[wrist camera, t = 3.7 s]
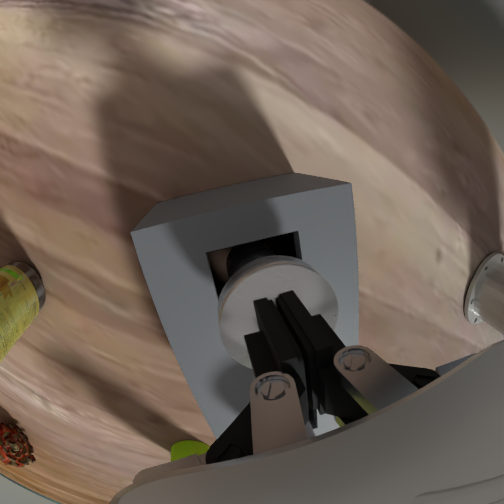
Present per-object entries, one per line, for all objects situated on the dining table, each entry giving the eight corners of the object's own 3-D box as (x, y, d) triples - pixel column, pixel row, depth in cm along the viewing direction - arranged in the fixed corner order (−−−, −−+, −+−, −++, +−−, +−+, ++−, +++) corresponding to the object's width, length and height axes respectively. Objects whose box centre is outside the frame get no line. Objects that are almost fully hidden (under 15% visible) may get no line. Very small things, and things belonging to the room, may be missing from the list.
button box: (294, 172, 24) (351, 182, 15) (317, 364, 32) (352, 425, 22) (156, 203, 23) (130, 232, 14) (218, 391, 30) (229, 461, 21)
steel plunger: (282, 216, 18) (334, 253, 11) (293, 288, 20) (339, 351, 13) (202, 235, 18) (205, 286, 11) (221, 307, 19) (235, 382, 12)
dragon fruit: (22, 411, 29) (27, 434, 33) (-20, 411, 22) (-8, 435, 26) (37, 457, 24) (41, 472, 28) (-8, 459, 18) (4, 475, 22)
